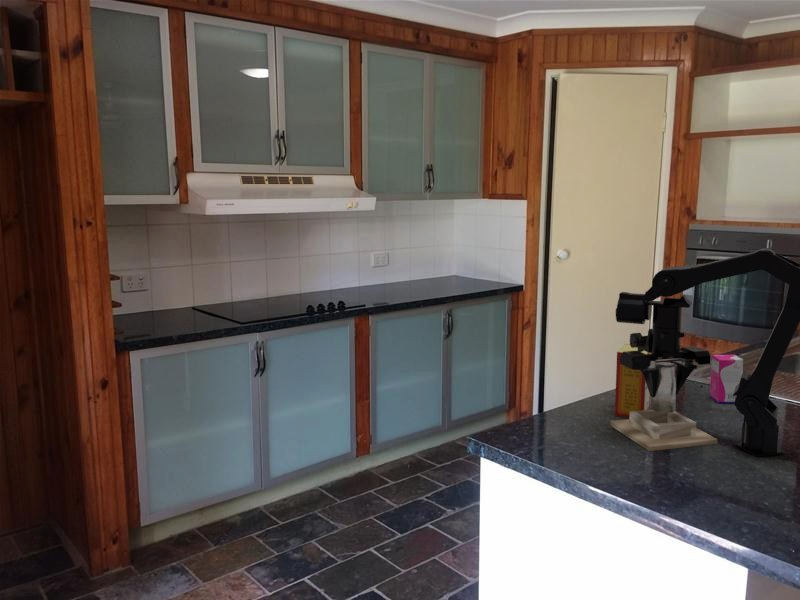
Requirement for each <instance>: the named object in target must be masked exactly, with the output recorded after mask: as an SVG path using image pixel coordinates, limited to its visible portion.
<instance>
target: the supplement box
mask: <svg viewBox="0 0 800 600" xmlns="http://www.w3.org/2000/svg"><path fill="white" fill-rule="evenodd" d="M743 364H744V359H743V358H742V357H739V356H738V355H736V354H711V363H710V367H711V368H710V388H709V389H710V390H709V398H711V399H712V400H713V401H714V402H715V403H717V404H719V405H720V404H721V405H724V404H725V405H726V404H728V405H729V404H730V405H732V404H733V405H735V398H736V396H733V393H734V391H735V388H736V386H737V385H738V384H739V383H740V379H741V376H742V373H743V371H744V369H743V367H744V365H743Z"/></svg>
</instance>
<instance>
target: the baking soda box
mask: <svg viewBox="0 0 800 600" xmlns="http://www.w3.org/2000/svg"><path fill="white" fill-rule="evenodd" d="M625 351H638V348H637V347H636V348H632V347H631V346H630V343H625V344H623V345H622V346H621V347H620V349H619V350H617V352H616V367H615V368H616V370H615V371H616V372H615V373H616V375H615V376H616V377H615V396H614V397H615V401H614V402H615V405H614V408H615V409H614V416H616V417H623V418H629V415H630V411H641V410H650V409H651V396H650V393H649V390H648V387H647V384H646V381H645V378H644V376H643V374H642V372H641V371H640V370H632V369H630V368H628V367H626V366H624V365H622V364H620V356H621V354H622V353H623V352H625ZM642 353H644V354H651V353H650V352H646V351H642Z"/></svg>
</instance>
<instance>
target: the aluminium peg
mask: <svg viewBox="0 0 800 600" xmlns="http://www.w3.org/2000/svg"><path fill="white" fill-rule="evenodd" d="M655 368H657V369H659V377H658V383H657V390H656V394H655V397H651V396H650V410H654V411H657V412H663V413H670V412H674V411H676V401H677V400H676V398H677V395H676V381H677V365H676V364H673V363H670V362H658V363H655Z"/></svg>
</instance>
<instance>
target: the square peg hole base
mask: <svg viewBox="0 0 800 600" xmlns="http://www.w3.org/2000/svg"><path fill="white" fill-rule="evenodd" d="M609 426H611V427H612V428H614V429H615V430H617V431H618V432H620V433H621V434H622V435H624V436H625V437H627V438H629V440H630V439H631V440H632V441H633V442H634V443H635V444H638V445H639V446H640V447H642V448H644V449H646V450H647V452H652V451H653V452H655V451H663V450H664V451H665V450H674V449H681V448H690V447H700V446H711V445H717V444H718V441H719V440H718V438H716V437H714V436H712V435H710V434H708V433H707V432H705V431H702V430H701V429H700V428H697V421H695V420H693V419H690V418H688V416H685V415H684V414H682V413H680V412H678V411H676V410H675V411H674V412H670V413H663V412H657V411H654V410H652V409H649V410H641V411H630V415H629V417H628V418H627V419H615V420H609Z"/></svg>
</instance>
